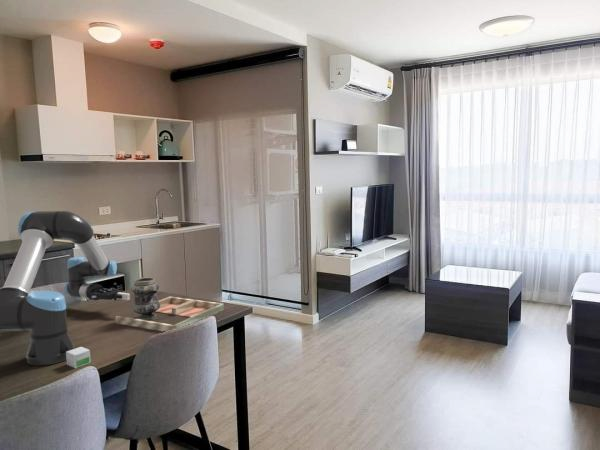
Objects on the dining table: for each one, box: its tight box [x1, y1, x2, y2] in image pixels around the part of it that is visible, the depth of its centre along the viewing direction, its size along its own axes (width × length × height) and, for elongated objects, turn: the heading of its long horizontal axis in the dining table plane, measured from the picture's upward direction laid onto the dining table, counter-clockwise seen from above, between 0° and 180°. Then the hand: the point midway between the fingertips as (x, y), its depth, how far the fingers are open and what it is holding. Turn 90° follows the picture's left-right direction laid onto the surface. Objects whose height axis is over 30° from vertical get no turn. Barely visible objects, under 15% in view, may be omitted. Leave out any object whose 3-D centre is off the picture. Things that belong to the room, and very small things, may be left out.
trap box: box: [115, 296, 225, 332], centre depth 209 cm, size 32×34×3 cm
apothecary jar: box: [130, 276, 160, 322], centre depth 206 cm, size 12×12×18 cm
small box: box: [66, 346, 91, 369], centre depth 159 cm, size 6×6×5 cm
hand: (128, 296), depth 210 cm, fingers closed
